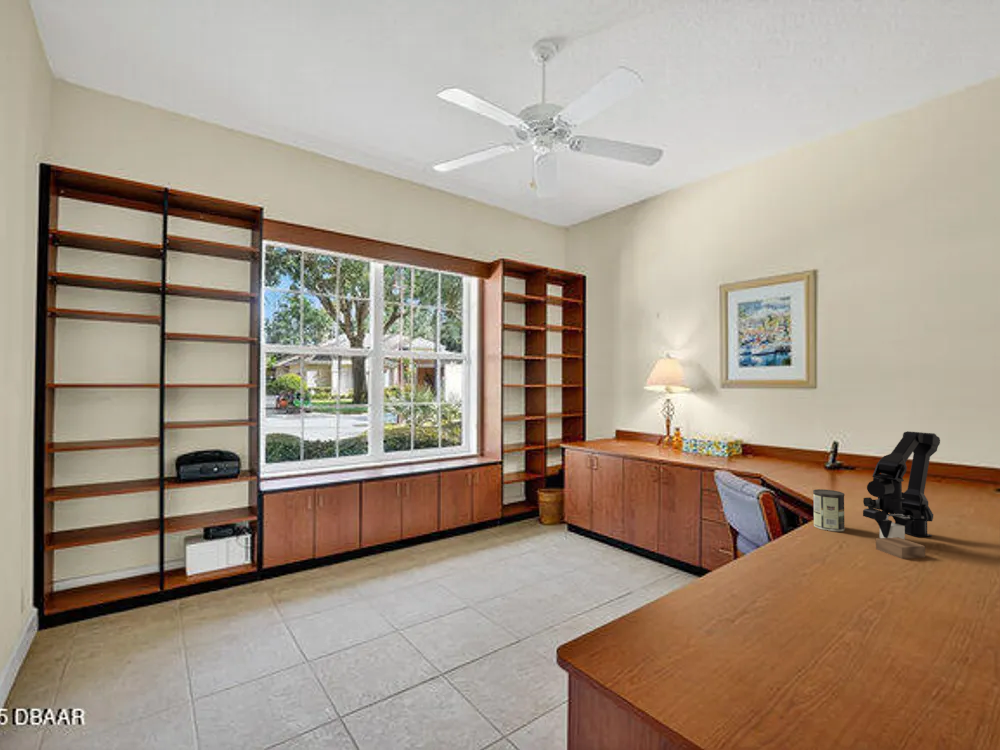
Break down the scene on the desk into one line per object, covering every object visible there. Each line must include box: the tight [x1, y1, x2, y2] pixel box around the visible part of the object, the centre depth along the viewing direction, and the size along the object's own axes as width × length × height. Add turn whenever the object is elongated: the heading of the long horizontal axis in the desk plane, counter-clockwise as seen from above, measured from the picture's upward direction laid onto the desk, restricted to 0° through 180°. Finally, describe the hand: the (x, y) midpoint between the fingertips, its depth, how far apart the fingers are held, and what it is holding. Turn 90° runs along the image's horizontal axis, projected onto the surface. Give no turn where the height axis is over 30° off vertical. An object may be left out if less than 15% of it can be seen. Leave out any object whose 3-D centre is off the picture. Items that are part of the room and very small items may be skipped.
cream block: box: [879, 521, 906, 540], centre depth 172 cm, size 5×5×6 cm
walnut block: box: [875, 537, 926, 560], centre depth 159 cm, size 9×9×4 cm
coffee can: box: [812, 488, 846, 532], centre depth 188 cm, size 10×10×14 cm
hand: (892, 537), depth 172 cm, fingers closed on cream block, 5 cm apart
